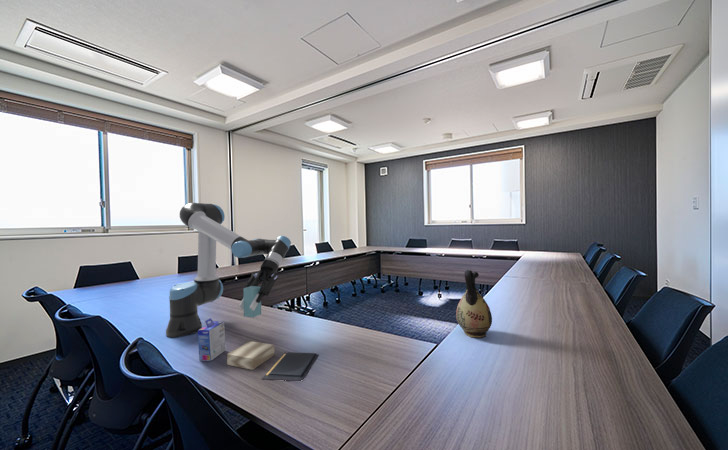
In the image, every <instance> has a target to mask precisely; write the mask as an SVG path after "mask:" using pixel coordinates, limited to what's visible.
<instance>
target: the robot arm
mask: <svg viewBox="0 0 728 450" xmlns="http://www.w3.org/2000/svg"><path fill="white" fill-rule="evenodd" d="M179 219H180V222H182V223H183V224H184V225H185V226H187V227H188V228H189V229H192V230H196V231H197V232H198V234H197V235H198V236H197V238H198V239H197V243H198V244H197V245H198V246H197V275H196V277H195V278H194V279H193V281H188V282H184V283H183V282H182V283H179V284H175V285H174V286H172V287H171V288H170V289H169V296H168V300H169V320H168V324H167V326H166V328H165V336H166V337H168V338H181V337H186V336H190V335H192V334H193V335H194V334H196V333H198V330H199V329H201V328H203V323H202V321H201V318H200V317H199V314H198V308H199V306H203V305H205V304H208V303H213V302H214V301H216V300H218V299H220V297H221V296H222V295H223V292H224V285H223V283H222V281H221V280H220V279H219V278H220V277H219V276H218V275H217V274H216V272H217V271H216V270H217V267H216V265H217V242H218V243H220V244H221V245H222V246H224V247H226V248H228V249H229V250H231V253H232V255H233V256H234V257H236V258H238V259H241V258H242V259H243V258H244V259H245V258H249V257H253V256H254V257H255V256H258V255H259V256H261V255H266V256H265V258H264V260H263V262H262V263H261V265H260V267H259V268H260V269H259V271H258V272H252V273H251V275H250V277H249V279H248V281H247V282H246V284H245V286H243V287H244V288H246V287H250V286H259V284H261V285H260V287H261V289H260V292H258V293H259V294H257V295H256V296H255V298H254V300H253V302H252V304H251V305H250V307H249V308H251V309H252V310H253V311H254V310H255V308H256V306H257V305H258V303H260V301H261V302H262V299H263V297H265V296H266V297H268V296H269V295H270V293H271V290H272V288H273V286H274V285H275V284H276V283H275V282H277V280H278V279H279V277H278V275H277V274H276V273H277V272H278V269H279V268H280V265H281V264H282V262H283V260H284V258H285V256H286V254H287V252H288V251H289V250H290V247H291V244H292V242H291V240H290V238H289V237H287V236H285V235H279V236H277V238H276V239H266V238H265V239H264V238H253V239H252V240H251V239H250V240H249V239H247V238H245V237H243V236H241V235H239V234H238V233H236V232H235V231H232V230H231V229H230V228H228V227H226V226H224V225H223V222H224V221H225V212H224V210H223V209H222V207H221V206H219V205H218V204H213V203H205V202H204V203H202V202H201V203H200V202H189V203H187V204H185V205H183V206H182V207H181V209H180V211H179ZM238 307H239V308H240V310H244V295H243V296H242V297H241V301H240V303H239V305H238Z"/></svg>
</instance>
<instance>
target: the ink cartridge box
mask: <svg viewBox="0 0 728 450" xmlns="http://www.w3.org/2000/svg"><path fill="white" fill-rule="evenodd" d="M204 322H205V326H202V328H201V329H199V330H198V332H197V341H198V357H199V361H200V362H211V361H213V360H215V358H217V357H218V356H220V355H221V354H222V353H223V352H225V351H226V350H227V349H226V331H225V321H219V320H218V321H217V320H215V321H213V319H212V318H208V319H207V320H205V321H204Z"/></svg>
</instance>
